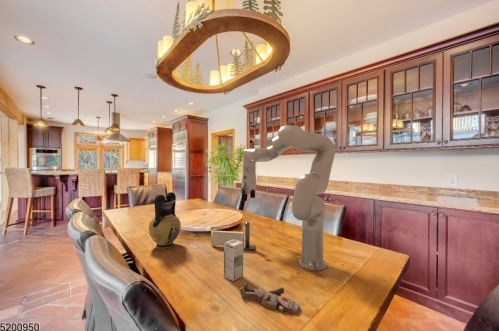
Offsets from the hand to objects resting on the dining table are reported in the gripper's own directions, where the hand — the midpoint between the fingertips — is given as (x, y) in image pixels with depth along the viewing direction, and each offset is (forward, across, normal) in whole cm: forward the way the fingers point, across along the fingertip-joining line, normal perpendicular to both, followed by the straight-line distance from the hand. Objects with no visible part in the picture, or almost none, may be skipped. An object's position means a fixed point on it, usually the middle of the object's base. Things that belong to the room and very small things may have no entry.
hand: (248, 199), depth 133 cm
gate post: (+25, -9, -6) cm, 27 cm away
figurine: (+25, -47, -34) cm, 63 cm away
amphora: (+27, -28, +38) cm, 54 cm away
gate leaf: (+25, -13, +6) cm, 29 cm away
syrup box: (+25, -38, -15) cm, 48 cm away
